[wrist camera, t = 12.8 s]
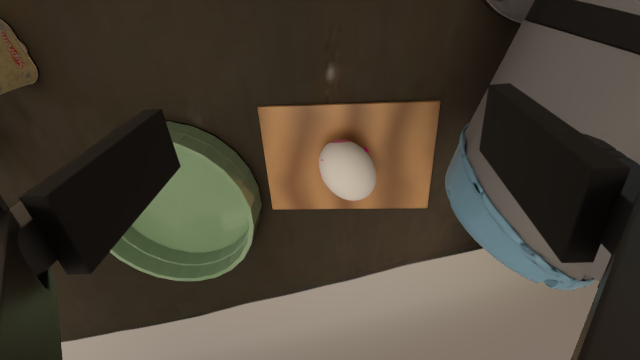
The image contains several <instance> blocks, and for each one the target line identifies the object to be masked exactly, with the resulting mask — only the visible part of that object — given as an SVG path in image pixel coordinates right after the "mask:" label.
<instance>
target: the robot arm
mask: <svg viewBox="0 0 640 360" xmlns="http://www.w3.org/2000/svg"><path fill="white" fill-rule="evenodd" d="M482 1H483V2H484V3H485V4H486V6H488V7H489V8H490V9H491V10H492V11H494V12H495V13H497V14H498V15H500V16H502V17H504V18H507V19H510V20H513V21H516V22H519V23H522V24H521V26H520V28H519V30H518V32H517V33H516V35H515V37H514V39H513V41H512V43H511V45H510V47H509V49H508V51H507V52H506V54H505V56H504V58H503V60H502V62H501V64H500V66H499V68H498V70H497V72H496V73H495V75H494V77H493V79H492V81H491V83H490V85H489V86H488V89H487V91H486V93H485V94H484V96H483V98H482V100H481V102H480V104H479V106H478V108H477V110H476V112H475V113H474V115H473V117H472V119H471V121H470V123H469V124H466V126H465V127H464V128H463V130H462V132H461V135H460V140H459V145H458V147H457V149H456V151H455V154H454V156H453V158H452V160H451V163H450V165H449V167H448V169H447V172H446V177H445V188H446V192H447V196H448V198H449V200H450V205H451V208H452V210H453V211H454V213H455V215H456V216H457V218H458V220H459V221H460V223H461V224H462V225H463V227H464V228H465V229H466V230H467V232H468V233H469V234H470V235H471V236H472V237H473V238H474V239H475V240H476V241H477V242H478V243H479V244H480V245H481V246H482V247H483V248H484V249H485V250H486V251H487V252H488V253H490V254H491V255H492V256H493V257H494V258H496V259H497V260H498V261H500V262H501V263H502V264H504V265H505V266H507V267H508V268H510V269H511V270H513V271H514V272H516V273H518V274H519V275H521V276H523V277H525V278H527V279H529V280H531V281H533V282H536V283H540V282H544V283H545V284H546V285H547V286H548V287H550V288H554V289H558V290H574V289H577V288H580V287H586V286H587V285H590V284H592V283H593V282H594V280H595V279H597V280H598V281H600V283H599V285H598V290H597V293H596V295H595V298H594V301H593V303H592V306H591V309H590V311H589V314H588V316H587V319H586V322H585V324H584V327H583V329H582V332H581V335H580V337H579V340H578V343H577V345H576V348H575V350H574V353H573V356H572V358H571V360H640V0H482ZM180 167H181V166H180V163H179V160H178V157H177V154H176V151H175V148H174V145H173V142H172V139H171V136H170V133H169V130H168V127H167V124H166V121H165V118H164V115H163V112H162V109H154V110H144V111H142V112H141V113H140V114H138V115H137V116H135V117H134V118H132V119H131V120H129V121H128V122H127V123H125V124H124V125H122V126H121V127H119V128H118V129H117V130H115V131H114V132H112V133H111V134H109V135H108V136H107V137H105V138H104V139H102V140H101V141H99V142H98V143H97V144H95V145H94V146H92V147H91V148H89V149H88V150H87V151H85V152H84V153H82V154H81V155H79V156H78V157H76V158H75V159H74V160H72V161H71V162H69V163H68V164H66V165H65V166H64V167H62V168H61V169H59V170H58V171H56V172H55V173H54V174H52V175H51V176H49V177H48V178H46V179H45V180H44V181H42V182H41V183H39V184H38V185H36V186H35V187H33V188H32V189H31V190H29V191H28V192H26V193H25V194H23V195H22V196H21V197H19V199H20V200H21V201H20V202H18V203H17V204H15V205H14V206H13V207H11V208H10V209H9V208H8V206H7V205H6V203H5V202H4V200H3V199H2V197H1V196H0V360H62V350H61V339H60V328H59V317H58V306H57V295H56V284H55V277H54V276H53V274H52V273H51V271H50V270H49V267H50V266H51V265H52V264H53V263H54V262H55V261H56V260H57V259H58V260H59V262H60V264H61V265H62V267H63V268H64V270H65V272H66V273H67V274H91V273H92V272H93V271H94V270H95V268H96V267H97V266H98V265H99V264H100V263H101V261H102V260H103V259H104V258H105V257H106V255H107V254H108V253H109V252H110V251H111V249H112V248H113V247H114V246H115V245H116V243H117V242H118V241H119V240H120V239H121V237H122V236H123V235H124V234H125V233H126V232H127V230H128V229H129V228H130V227H131V226H132V224H133V223H134V222H135V221H136V220H137V218H138V217H139V216H140V215H141V214H142V212H143V211H144V210H145V209H146V208H147V206H148V205H149V204H150V203H151V202H152V201H153V199H154V198H155V197H156V196H157V195H158V193H159V192H160V191H161V190H162V189H163V187H164V186H165V185H166V184H167V183H168V181H169V180H170V179H171V178H172V177H173V175H174V174H175V173H176V172H177V171H178V170H179V168H180Z"/></svg>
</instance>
